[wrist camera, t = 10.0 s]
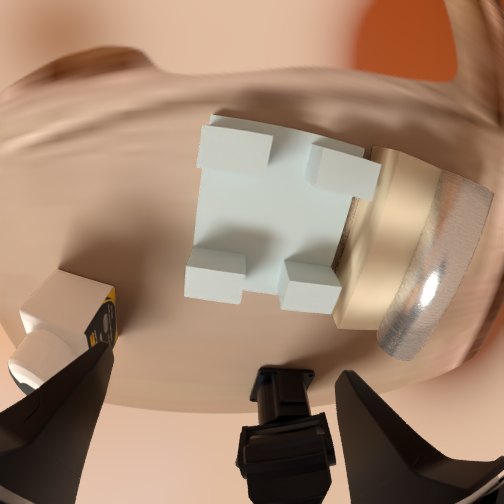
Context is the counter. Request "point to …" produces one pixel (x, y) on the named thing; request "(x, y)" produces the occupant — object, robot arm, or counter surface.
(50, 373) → the medicine bottle
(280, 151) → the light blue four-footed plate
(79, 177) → the counter surface
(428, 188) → the beech v-block
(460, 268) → the steel axle
